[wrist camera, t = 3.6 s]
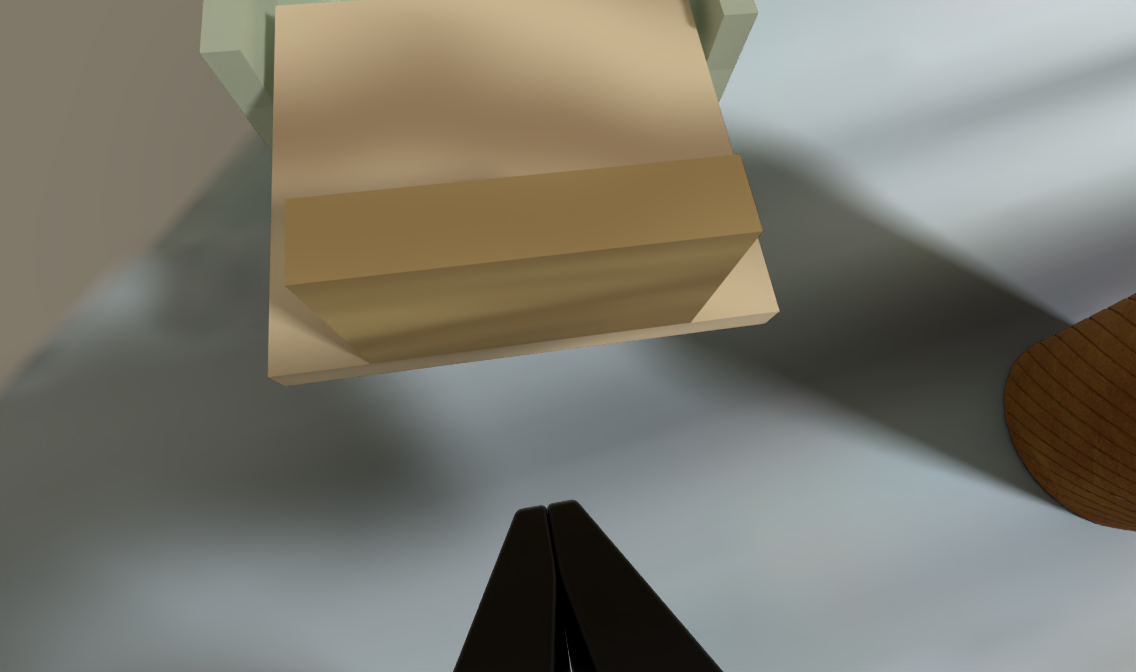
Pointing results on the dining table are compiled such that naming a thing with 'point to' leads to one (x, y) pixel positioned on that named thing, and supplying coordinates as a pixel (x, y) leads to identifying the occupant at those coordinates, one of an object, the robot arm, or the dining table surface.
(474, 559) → the dining table surface
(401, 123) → the lid
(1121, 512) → the disposable coffee cup
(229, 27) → the box
